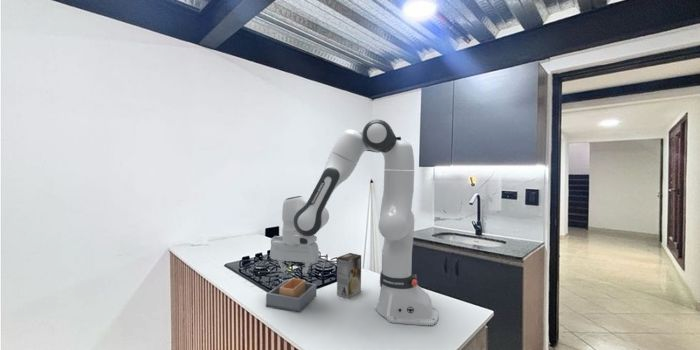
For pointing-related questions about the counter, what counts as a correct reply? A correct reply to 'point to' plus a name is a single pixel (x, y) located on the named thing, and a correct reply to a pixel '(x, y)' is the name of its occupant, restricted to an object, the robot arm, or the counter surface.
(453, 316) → the counter surface
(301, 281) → the orange crate
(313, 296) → the grey crate
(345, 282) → the coffee box
